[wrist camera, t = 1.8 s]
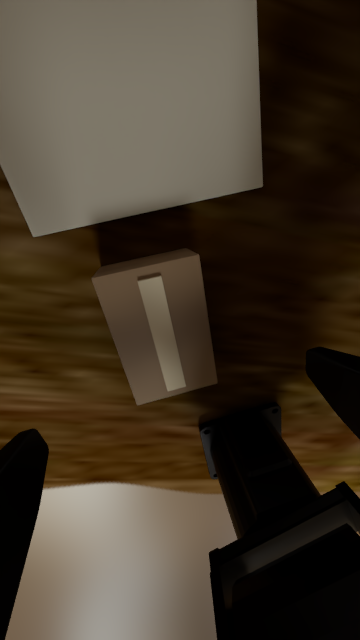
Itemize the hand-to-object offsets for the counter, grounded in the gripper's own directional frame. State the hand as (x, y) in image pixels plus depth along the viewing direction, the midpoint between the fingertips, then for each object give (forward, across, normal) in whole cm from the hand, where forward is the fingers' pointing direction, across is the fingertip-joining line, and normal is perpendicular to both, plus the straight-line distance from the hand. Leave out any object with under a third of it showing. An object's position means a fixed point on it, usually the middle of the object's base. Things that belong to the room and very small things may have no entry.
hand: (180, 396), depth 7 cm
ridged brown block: (+7, 0, 0) cm, 7 cm away
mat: (+6, -1, -11) cm, 13 cm away
